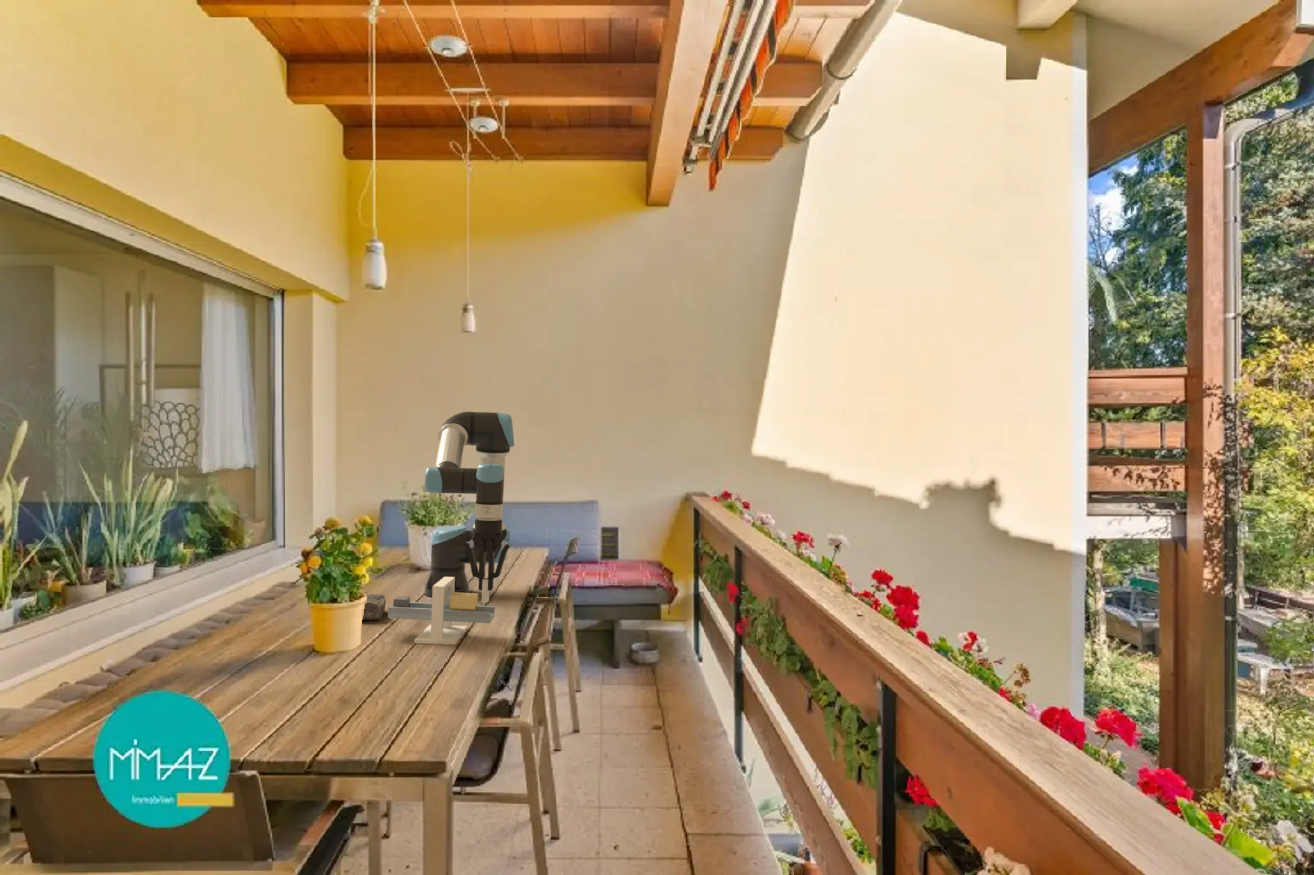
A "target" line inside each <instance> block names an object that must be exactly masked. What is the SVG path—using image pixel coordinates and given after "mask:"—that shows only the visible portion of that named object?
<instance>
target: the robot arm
mask: <svg viewBox="0 0 1314 875" xmlns="http://www.w3.org/2000/svg"><path fill="white" fill-rule="evenodd" d="M437 439H438V442H439V445H438V450H437V455H436V459H435V464H434V466H432V467H431V466H430V467H429V466H428V467H427V468H426V469H425V475H424V489H425V491H426V492H427V493H432V494H438V495H439V494H465V495H466V494H468V495H470V494H472V495H474V494H475V498H476V499H475V510H474V516H475V518H476V519H475V520H474V524H473V526H472V530H471V529H470V530H469V529H468V528H467V526H466V525H452V526H444V527H441V528H437V529H436V530H434V531H433V532H432V536H431V543H430V546H431V551H430V552H431V554H430V556H431V557H430V572H429V574H428V578H427V580H426V582H425V585H424V591H423V592H424V595H425V596H428V597H431V598H432V591H433V590H432V588H433V586H434V585H435V584H436V583H437V582H439V581H440V580H441V579H442V578H444V577H455V585H454V592H461V593H470V584H469V581H468V577H467V574H466V564H469V565H470V569H471V570H470V571H471V575H472V577H474V578H477V579H478V590H479V591H481V604H488V602H489V601H490V591H493V589H494V580H495V579H496V578H499V577H500V575H501V573H502V570H503V566H504V563H505V561H506V559H507V557H508V552H509V549H510V547H511V542H510V541H511V540H510V539H511V531H510V530H508V529H507V525H506V524H505V523H504V522H503V515H504V514H503V513H504V512H503V511H504V491H505V488H504V487H505V468H506V456H507V455H508V454H510V452H511V448H513V447H515V437H514V426H513V418H512V416H511V415H510V414H508V413H502V412H492V411H491V412H488V411H487V412H486V411H483V412H482V411H462V412H459V413H457V414H454V415H452V416H450V417H449V418H447V419H446V420H445V421H444V422H443V423H442V424H441V426H440V427H439V430H438V434H437ZM465 446H475V452H476V453H477V454H478V455H479V464H478V465H477V468H475V467H473V468H471V467H468V468H467V467H462V463H463V462H462V461H463V454H464V447H465ZM486 564H487V566H488V567H487V568H488V569H487V577H486ZM495 564H497V565H496V568H495Z"/></svg>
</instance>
